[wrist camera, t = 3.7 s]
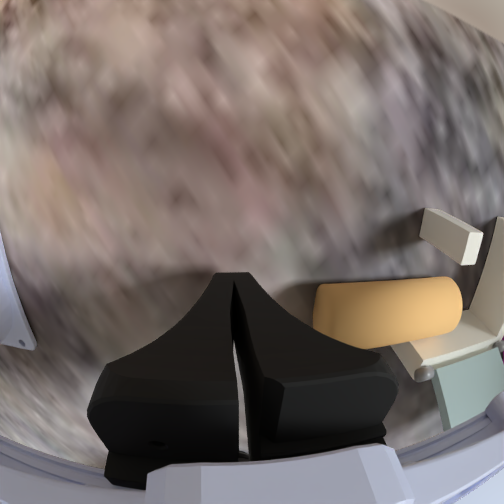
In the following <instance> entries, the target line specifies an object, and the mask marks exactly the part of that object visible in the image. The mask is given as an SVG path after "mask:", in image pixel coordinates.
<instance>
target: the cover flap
mask: <svg viewBox="0 0 504 504" xmlns="http://www.w3.org/2000/svg"><path fill="white" fill-rule="evenodd" d="M431 380H432V384H433V387H434V391H435V395H436V399H437V403H438V407H439V411H440V416H441V420H442V425H443V430H444V431H447V430H449V429H451V428H453V427H455V426H457V425H459V424H461V423H463V422H465V421H467V420H469V419H471V418H473V417H475V416H476V415H478V414H480V413H482V412H484V411H485V409H486V407H487V406H488V405H489V403H490V402H491V401H492V400H493V398H494V397H495V396H497V395H498V394H499V393H500V392H502V391H504V364H503V361H502V358H501V355H500V352H499V349H498V347H496V348H494V349H491V350H489V351H486V352H484V353H481V354H479V355H476V356H474V357H471V358H468V359H465V360H463V361H460V362H457V363H454V364H451V365H448V366H445V367H442V368H439V369H436V370H434V377H433V378H432V379H431Z"/></svg>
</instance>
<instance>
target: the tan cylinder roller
mask: <svg viewBox="0 0 504 504" xmlns="http://www.w3.org/2000/svg"><path fill="white" fill-rule="evenodd" d="M462 307H463V305H462V296H461V293H460V290H459V288H458V286H457V284H456V283H455V282H454V281H453V280H452V279H451V278H449V277H431V278H418V279H404V280H389V281H372V282H354V283H334V284H321V285H320V286H319V287H318V288H317V291H316V297H315V303H314V309H313V328H314V329H315V330H317V331H319V332H320V333H322V334H324V335H327V336H329V337H331V338H333V339H336V340H338V341H341V342H343V343H346V344H348V345H351V346H354V347H358V348H361V349H370V348H376V347H382V346H388V345H394V344H399V343H404V342H409V341H414V340H419V339H424V338H429V337H433V336H437V335H442V334H446V333H449V332H451V331H453V330H454V329H455V328H456V326H457V325H458V323H459V321H460V318H461V315H462Z"/></svg>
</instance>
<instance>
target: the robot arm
mask: <svg viewBox="0 0 504 504" xmlns="http://www.w3.org/2000/svg"><path fill="white" fill-rule="evenodd" d="M234 343H235V348H236V354H237V359H238V364H239V370H240V375H241V380H242V385H243V392H244V403H245V414H246V426H247V437H248V449H249V461H250V462H239V401H238V388H237V378H236V371H235V364H234V356H233V344H234ZM0 344H4V345H8V346H13V347H17V348H22V349H27V350H34V349H35V348H36V346H37V342H36V340H35V337H34V335H33V333H32V330H31V328H30V326H29V323H28V321H27V318H26V316H25V313H24V310H23V308H22V305H21V302H20V299H19V297H18V294H17V291H16V288H15V285H14V281H13V278H12V275H11V272H10V268H9V265H8V261H7V257H6V253H5V249H4V245H3V241H2V237H1V232H0ZM397 393H398V382H397V380H396V378H395V377H394V375H393V373H392V371H391V370H390V368H389V366H388V364H387V363H386V362H385V360H384V359H383V357H382V356H381V355H380V354H379V353H375V352H372V351H368V350H365V349H361V348H358V347H354V346H351V345H348V344H346V343H343V342H341V341H338V340H336V339H333V338H331V337H329V336H327V335H324V334H322V333H320V332H319V331H317V330H315V329H313V328H311V327H309V326H308V325H306V324H304V323H303V322H301V321H300V320H298V319H297V318H295V317H294V316H292V315H291V314H290V313H288V312H287V311H286V310H284V309H283V308H282V307H281V306H280V305H279V304H278V303H276V302H275V301H274V300H273V299H272V298H271V297H270V296H269V295H268V294H267V293H266V291H265V290H264V289H263V288H262V287H261V286H260V285H259V284H258V282H257V281H256V280H255V279H254V277H253V276H252V275H251V274H250V273H249V272H238V273H215V274H214V275H213V278H212V280H211V282H210V284H209V285H208V287H207V289H206V290H205V292H204V293H203V294H202V296H201V297H200V299H199V300H198V301H197V303H196V304H195V305H194V306H193V307H192V309H191V310H190V311H189V312H188V313H187V314H186V315H185V316H184V317H183V318H182V319H181V320H180V321H179V322H178V323H177V324H176V325H175V326H174V327H173V328H171V329H170V330H169V331H167V332H166V333H165V334H163V335H162V336H161V337H159V338H158V339H156V340H155V341H153V342H152V343H150V344H148V345H147V346H145V347H143V348H141V349H139V350H137V351H135V352H133V353H131V354H129V355H127V356H125V357H122V358H120V359H118V360H115V361H113V362H110V363H108V364H106V366H105V368H104V370H103V372H102V373H101V375H100V377H99V379H98V381H97V384H96V386H95V389H94V391H93V394H92V397H91V400H90V403H89V406H88V409H87V417H88V420H89V422H90V424H91V426H92V427H93V429H94V430H95V432H96V433H97V435H98V436H99V438H100V439H101V441H102V442H103V443H104V445H105V446H106V448H107V449H108V450H109V452H108V457H107V462H106V466H105V469H101V468H96V467H92V466H88V465H84V464H80V463H76V462H72V461H69V460H65V459H62V458H59V457H56V456H52V455H49V454H46V453H43V452H41V451H38V450H35V449H32V448H30V447H27V446H25V445H22V444H20V443H17V442H15V441H12V440H10V439H8V438H6V437H3V436H1V435H0V504H453V503H454V502H456V501H458V500H459V499H461V498H463V497H464V496H466V495H467V494H469V493H470V492H471V491H473V490H475V489H476V488H477V487H479V486H480V485H482V484H483V483H485V482H486V481H487V480H489V479H490V478H491V477H493V476H494V475H495V474H497V473H498V472H499V471H500V470H502V469H503V468H504V391H502V392H500V393H499V394H498V395H497V396H495V397H494V398H493V400H492V401H491V402H490V403H489V405H488V406H487V407H486V409H485V411H484V412H482V413H480V414H478V415H476V416H475V417H473V418H471V419H469V420H467V421H465V422H463V423H461V424H459V425H457V426H455V427H453V428H451V429H449V430H447V431H444V432H442V433H440V434H438V435H435V436H433V437H431V438H428V439H426V440H423V441H421V442H418V443H416V444H413V445H411V446H408V447H405V448H402V449H400V450H397V451H394V449H393V448H390V447H388V446H387V445H386V443H385V441H384V438H383V437H384V436H385V435H386V429H385V427H384V425H383V423H382V421H383V419H384V418H385V416H386V415H387V413H388V411H389V410H390V408H391V406H392V404H393V403H394V401H395V398H396V396H397Z"/></svg>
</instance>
